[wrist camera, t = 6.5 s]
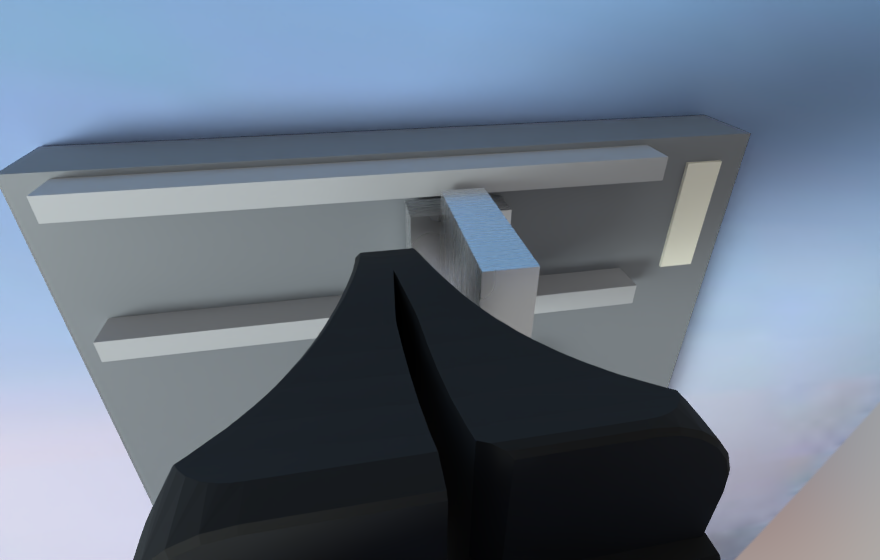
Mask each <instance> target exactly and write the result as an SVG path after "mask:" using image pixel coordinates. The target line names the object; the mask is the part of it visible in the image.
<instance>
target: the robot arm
mask: <svg viewBox="0 0 880 560" xmlns="http://www.w3.org/2000/svg"><path fill="white" fill-rule="evenodd" d="M729 471H730V465H729V456H728V452H727V451H726V449H725V448H724V446H723V445H722V444H721V442H720V441H719V439H718V438H717V437H716V436H715V434H714V433H713V432H712V431H711V429H710V428H709V427H708V426H707V424H706V423H705V422H704V421H703V420H702V418H701V417H700V416H699V415H698V413H697V412H696V411H695V410H694V409H693V408H692V407H691V405H690V404H689V403H688V402H687V401H686V400H685V399H684V398H683V397H682V396H681V394H680V393H679V392H678V391H676V390H673V389H669V388H666V387H662V386H659V385H655V384H652V383H648V382H645V381H641V380H638V379H634V378H630V377H627V376H623V375H620V374H617V373H614V372H611V371H608V370H605V369H602V368H600V367H597V366H594V365H591V364H589V363H586V362H583V361H580V360H578V359H576V358H573V357H571V356H568V355H566V354H563V353H561V352H559V351H557V350H555V349H552V348H550V347H548V346H546V345H544V344H542V343H540V342H538V341H535V340H533V339H531V338H530V337H528V336H526V335H524V334H522V333H520V332H518V331H517V330H515V329H513V328H512V327H510V326H508V325H507V324H505V323H503V322H502V321H500V320H498V319H497V318H495V317H493V316H492V315H490V314H489V313H487V312H486V311H485V310H483V309H482V308H480V307H479V306H478V305H476V304H475V303H474V302H472V301H471V300H470V299H468V298H467V297H466V296H464V295H463V294H462V293H461V292H460V291H459V290H457V289H456V288H455V287H454V286H453V285H452V284H451V283H449V282H448V281H447V280H446V279H445V278H444V277H443V276H442V275H441V274H440V273H439V272H438V271H437V270H435V269H434V268H433V267H432V266H431V265H430V264H429V263H428V262H427V261H426V260H425V259H424V257H423V256H422V255H421V254H420V253H419V252H417V251H416V250H415V249H414V248H409V249H397V250H386V251H375V252H363V253H359V254H358V256H357V257H356V258H355V263H354V267H353V271H352V274H351V276H350V279H349V281H348V284H347V286H346V288H345V290H344V292H343V294H342V296H341V298H340V300H339V302H338V304H337V306H336V308H335V309H334V311H333V313H332V314H331V316H330V318H329V319H328V321H327V323H326V324H325V326H324V328H323V329H322V331H321V332H320V333H319V335H318V336H317V338H316V339H315V341H314V342H313V343H312V345H311V346H310V347H309V348H308V350H307V351H306V352H305V354H304V355H303V356H302V357H301V359H300V360H299V361H298V362H297V363H296V364H295V365H294V366H293V368H292V369H291V370H290V371H289V372H288V373H287V374H286V375H285V376H284V378H283V379H282V380H281V381H280V382H279V383H278V384H277V385H276V386H275V387H274V388H273V389H272V390H271V391H270V392H269V393H268V394H267V395H265V396H264V397H263V398H262V399H261V400H260V401H259V402H258V403H256V404H255V405H254V406H253V407H252V408H251V409H249V410H248V411H247V412H246V413H245V414H243V415H242V416H241V417H240V418H239V419H237V420H236V421H235V422H233V423H232V424H231V425H230V426H228V427H227V428H226V429H224V430H223V431H221V432H220V433H219V434H217V435H216V436H214V437H213V438H212V439H210V440H209V441H207V442H206V443H204V444H203V445H202V446H200V447H199V448H197V449H196V450H195V451H193V452H192V453H190V454H189V455H188V456H186V457H185V458H183V459H181V460H180V461H178V462H177V463H175V464H174V465H173V466H172V468H171V470H170V472H169V474H168V476H167V478H166V480H165V482H164V484H163V486H162V489H161V491H160V493H159V495H158V497H157V499H156V501H155V503H154V505H153V507H152V510H151V512H150V514H149V516H148V518H147V521H146V523H145V526H144V529H143V531H142V534H141V537H140V540H139V543H138V546H137V549H136V553H135V556H134V559H133V560H720V555H719V553H718V552H717V550H716V549H715V547H714V546H713V544H712V543H711V541H710V540H709V538H708V537H707V535H706V534H705V530H706V527H707V525H708V523H709V521H710V519H711V517H712V515H713V513H714V511H715V508H716V506H717V504H718V502H719V500H720V498H721V496H722V494H723V492H724V488H725V485H726V482H727V478H728V475H729Z"/></svg>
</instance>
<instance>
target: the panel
mask: <svg viewBox="0 0 880 560" xmlns="http://www.w3.org/2000/svg"><path fill="white" fill-rule="evenodd" d="M750 134H751V133H749V132H746V131H744V130H741V129H739V128H736V127H733V126H731V125H728V124H726V123H723V122H721V121H718V120H716V119H713V118H711V117H708V116H706V115H693V116H672V117H651V118H630V119H609V120H588V121H567V122H546V123H525V124H504V125H483V126H462V127H441V128H420V129H399V130H378V131H357V132H336V133H315V134H294V135H272V136H251V137H230V138H209V139H188V140H167V141H146V142H125V143H104V144H83V145H62V146H41V147H38V148H36V149H35V150H33V151H31V152H30V153H28V154H27V155H25V156H23V157H22V158H20V159H19V160H17V161H15V162H14V163H12V164H11V165H9V166H7V167H6V168H4V169H3V170H1V171H0V189H1V191H2V193H3V195H4V197H5V199H6V201H7V203H8V205H9V207H10V209H11V211H12V213H13V216H14V218H15V220H16V222H17V224H18V226H19V228H20V230H21V232H22V234H23V236H24V238H25V240H26V243H27V245H28V247H29V249H30V251H31V253H32V255H33V257H34V259H35V261H36V263H37V265H38V268H39V270H40V272H41V274H42V276H43V278H44V280H45V282H46V284H47V286H48V288H49V290H50V292H51V295H52V297H53V299H54V301H55V303H56V305H57V307H58V309H59V311H60V313H61V315H62V317H63V320H64V322H65V324H66V326H67V328H68V330H69V332H70V334H71V336H72V338H73V340H74V342H75V344H76V347H77V349H78V351H79V353H80V355H81V357H82V359H83V361H84V363H85V365H86V367H87V369H88V372H89V374H90V376H91V378H92V380H93V382H94V384H95V386H96V388H97V390H98V392H99V394H100V396H101V399H102V401H103V403H104V405H105V407H106V409H107V411H108V413H109V415H110V417H111V419H112V421H113V424H114V426H115V428H116V430H117V432H118V434H119V436H120V438H121V440H122V442H123V444H124V446H125V448H126V451H127V453H128V455H129V457H130V459H131V461H132V463H133V465H134V467H135V469H136V471H137V473H138V475H139V478H140V480H141V482H142V484H143V486H144V488H145V490H146V492H147V494H148V496H149V498H150V500H151V503H152V505H154V503H155V501H156V499H157V497H158V495H159V493H160V491H161V489H162V486H163V484H164V482H165V480H166V478H167V476H168V474H169V472H170V470H171V468H172V466H173V465H174V464H175V463H177V462H178V461H180V460H181V459H183V458H185V457H186V456H188V455H189V454H190V453H192V452H193V451H195V450H196V449H197V448H199V447H200V446H202V445H203V444H204V443H206V442H207V441H209V440H210V439H212V438H213V437H214V436H216V435H217V434H219V433H220V432H221V431H223V430H224V429H226V428H227V427H228V426H230V425H231V424H232V423H233V422H235V421H236V420H237V419H239V418H240V417H241V416H242V415H243V414H245V413H246V412H247V411H248V410H249V409H251V408H252V407H253V406H254V405H255V404H256V403H258V402H259V401H260V400H261V399H262V398H263V397H264V396H265V395H267V394H268V393H269V392H270V391H271V390H272V389H273V388H274V387H275V386H276V385H277V384H278V383H279V382H280V381H281V380H282V379H283V378H284V376H285V375H286V374H287V373H288V372H289V371H290V370H291V369H292V368H293V366H294V365H295V364H296V363H297V362H298V361H299V360H300V359H301V357H302V356H303V355H304V354H305V352H306V351H307V350H308V348H309V347H310V346H311V345H312V343H313V342H314V341H315V339H316V338H317V336H318V335H319V333H320V332H321V331H322V329H323V328H324V326H325V324H326V323H327V321H328V319H329V318H330V316H331V314H332V313H333V311H334V309H335V308H336V306H337V304H338V302H339V300H340V298H341V296H342V294H343V292H344V290H345V288H346V286H347V284H348V281H349V279H350V276H351V274H352V271H353V267H354V263H355V258H356V257H357V256H358V254H359V253H363V252H375V251H386V250H397V249H407V247H406V219H405V201H406V200H420V199H434V198H441V191H443V190H458V189H472V188H485V190H486V191H487V192H488V194H489V195H491V194H500V195H501V196H502V198H503V199H504V200H505V202H506V203H507V204H508V206H509V207H510V208H511V210H512V213H511V224H510V225H511V226H512V228H513V229H514V230H515V232H516V233H517V235H518V236H519V237H520V239H521V240H522V242H523V243H524V244H525V246H526V247H527V249H528V250H529V251H530V253H531V254H532V256H533V257H534V258H535V260H536V261H537V263H538V264H539V266H540V271H539V279H538V287H537V295H536V303H535V311H534V319H533V327H532V335H531V339H533V340H535V341H538V342H540V343H542V344H544V345H546V346H548V347H550V348H552V349H555V350H557V351H559V352H561V353H563V354H566V355H568V356H571V357H573V358H576V359H578V360H580V361H583V362H586V363H589V364H591V365H594V366H597V367H600V368H602V369H605V370H608V371H611V372H614V373H617V374H620V375H623V376H627V377H630V378H634V379H638V380H641V381H645V382H648V383H652V384H655V385H659V386H662V387H666V388H668V385H669V382H670V379H671V376H672V373H673V370H674V367H675V364H676V361H677V357H678V354H679V351H680V348H681V345H682V342H683V339H684V336H685V333H686V330H687V327H688V324H689V321H690V318H691V315H692V312H693V309H694V305H695V302H696V299H697V296H698V293H699V290H700V287H701V284H702V281H703V278H704V275H705V272H706V269H707V266H708V263H709V260H710V257H711V253H712V250H713V247H714V244H715V241H716V238H717V235H718V232H719V229H720V226H721V223H722V220H723V217H724V214H725V211H726V208H727V204H728V201H729V198H730V195H731V192H732V189H733V186H734V183H735V180H736V177H737V174H738V171H739V168H740V165H741V162H742V159H743V156H744V152H745V149H746V146H747V143H748V140H749V137H750Z"/></svg>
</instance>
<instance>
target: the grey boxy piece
mask: <svg viewBox="0 0 880 560" xmlns="http://www.w3.org/2000/svg"><path fill="white" fill-rule="evenodd" d="M511 213H512V210H511V208H510V207H509V206H508V204H507V203H506V202H505V200H504V199H503V198H502V196H501V195H500V194H491V195H489V194H488V192H487V191H486V190H485V188H472V189H458V190H443V191H441V198H434V199H420V200H406V201H405V219H406V247H407V249H409V248H414V249H415V250H416V251H417V252H419V253H420V254H421V255H422V256H423V257H424V259H425V260H426V261H427V262H428V263H429V264H430V265H431V266H432V267H433V268H434V269H435V270H437V271H438V272H439V273H440V274H441V275H442V276H443V277H444V278H445V279H446V280H447V281H448V282H449V283H451V284H452V285H453V286H454V287H455V288H456V289H457V290H459V291H460V292H461V293H462V294H463V295H464V296H466V297H467V298H468V299H470V300H471V301H472V302H474V303H475V304H476V305H478V306H479V307H480V308H482V309H483V310H485V311H486V312H487V313H489V314H490V315H492V316H493V317H495V318H497V319H498V320H500V321H502V322H503V323H505V324H507V325H508V326H510V327H512V328H513V329H515V330H517V331H518V332H520V333H522V334H524V335H526V336H528V337H530V338H531V335H532V327H533V319H534V311H535V303H536V295H537V287H538V279H539V271H540V266H539V264H538V263H537V261H536V260H535V258H534V257H533V256H532V254H531V253H530V251H529V250H528V249H527V247H526V246H525V244H524V243H523V242H522V240H521V239H520V237H519V236H518V235H517V233H516V232H515V230H514V229H513V228H512V226H511V225H510V224H511Z"/></svg>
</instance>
